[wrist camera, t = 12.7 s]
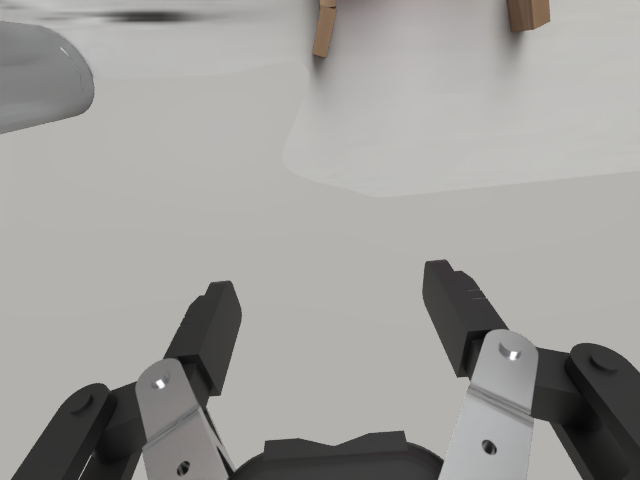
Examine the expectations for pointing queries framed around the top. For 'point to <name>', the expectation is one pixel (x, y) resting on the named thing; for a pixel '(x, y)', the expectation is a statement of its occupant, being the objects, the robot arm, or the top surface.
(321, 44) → the cradle
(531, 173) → the top surface
